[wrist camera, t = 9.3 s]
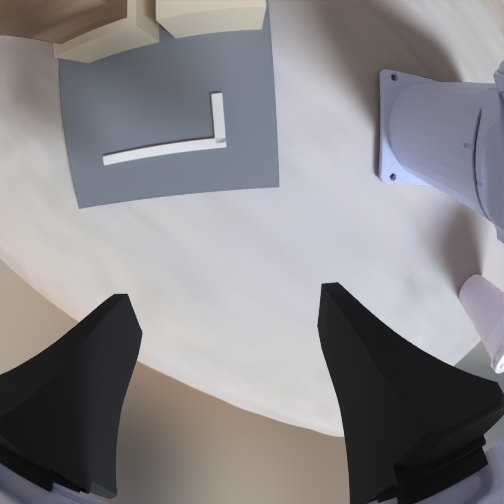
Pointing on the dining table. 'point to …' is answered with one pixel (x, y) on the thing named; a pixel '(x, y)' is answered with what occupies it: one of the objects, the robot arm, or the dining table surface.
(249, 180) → the board
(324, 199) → the dining table surface
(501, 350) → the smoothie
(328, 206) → the dining table surface
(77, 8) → the walnut block
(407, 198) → the dining table surface
